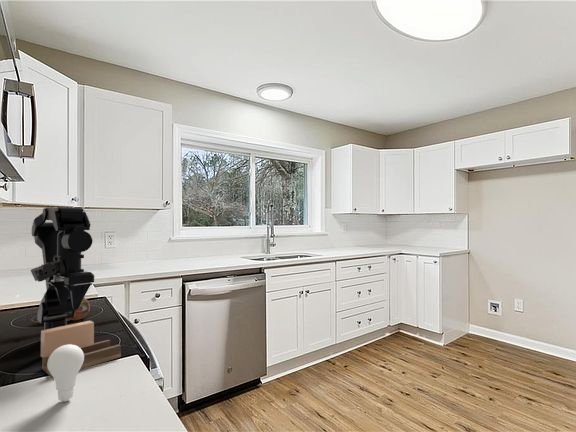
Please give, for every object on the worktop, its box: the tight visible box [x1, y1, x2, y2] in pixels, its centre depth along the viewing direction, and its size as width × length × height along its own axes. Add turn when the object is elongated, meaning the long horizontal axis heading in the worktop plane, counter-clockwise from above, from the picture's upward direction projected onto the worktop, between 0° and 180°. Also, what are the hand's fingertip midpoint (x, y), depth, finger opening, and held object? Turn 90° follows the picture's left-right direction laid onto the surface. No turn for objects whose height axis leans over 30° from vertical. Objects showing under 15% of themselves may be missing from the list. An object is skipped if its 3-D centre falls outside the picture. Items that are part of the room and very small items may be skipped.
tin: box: [44, 297, 91, 322], centre depth 125 cm, size 15×3×8 cm, turn 105°
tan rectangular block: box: [40, 320, 95, 358], centre depth 93 cm, size 3×12×7 cm, turn 141°
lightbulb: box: [47, 344, 84, 403], centre depth 67 cm, size 6×6×11 cm
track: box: [41, 339, 122, 379], centre depth 85 cm, size 8×16×3 cm, turn 141°
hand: (69, 307), depth 94 cm, fingers open, 9 cm apart
